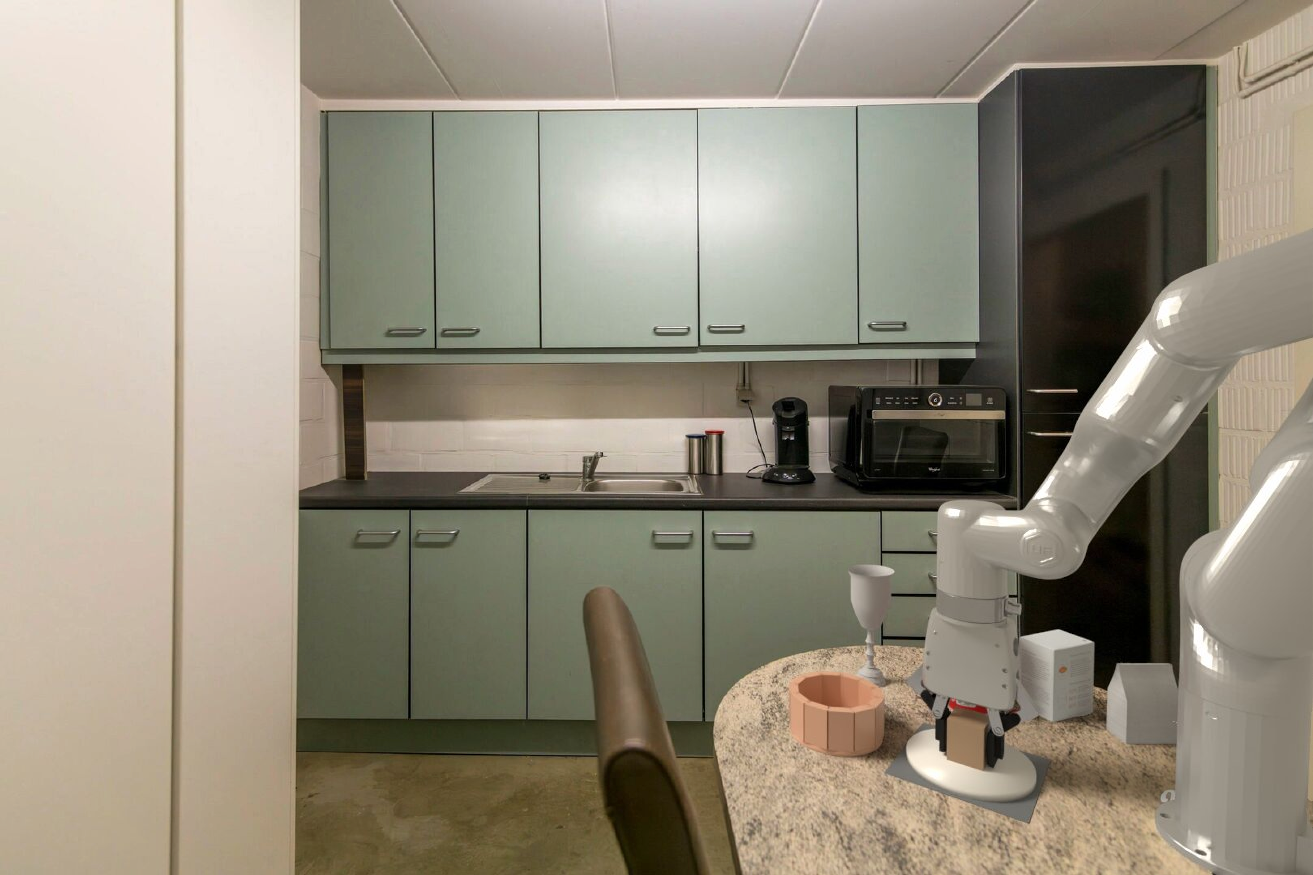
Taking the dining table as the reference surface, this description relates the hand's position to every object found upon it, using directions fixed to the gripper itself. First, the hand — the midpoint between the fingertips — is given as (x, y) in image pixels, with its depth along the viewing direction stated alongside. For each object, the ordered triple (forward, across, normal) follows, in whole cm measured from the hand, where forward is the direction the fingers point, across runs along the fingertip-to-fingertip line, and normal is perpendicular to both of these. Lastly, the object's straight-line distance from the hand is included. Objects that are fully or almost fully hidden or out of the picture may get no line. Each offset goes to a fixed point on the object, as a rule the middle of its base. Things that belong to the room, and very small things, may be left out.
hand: (968, 753), depth 77 cm
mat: (+2, 0, 0) cm, 2 cm away
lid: (+2, 0, 0) cm, 2 cm away
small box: (+2, -6, -23) cm, 24 cm away
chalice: (+2, +18, -16) cm, 24 cm away
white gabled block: (+2, -16, -21) cm, 26 cm away
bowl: (+2, +16, +2) cm, 16 cm away
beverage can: (+2, +4, -16) cm, 17 cm away
